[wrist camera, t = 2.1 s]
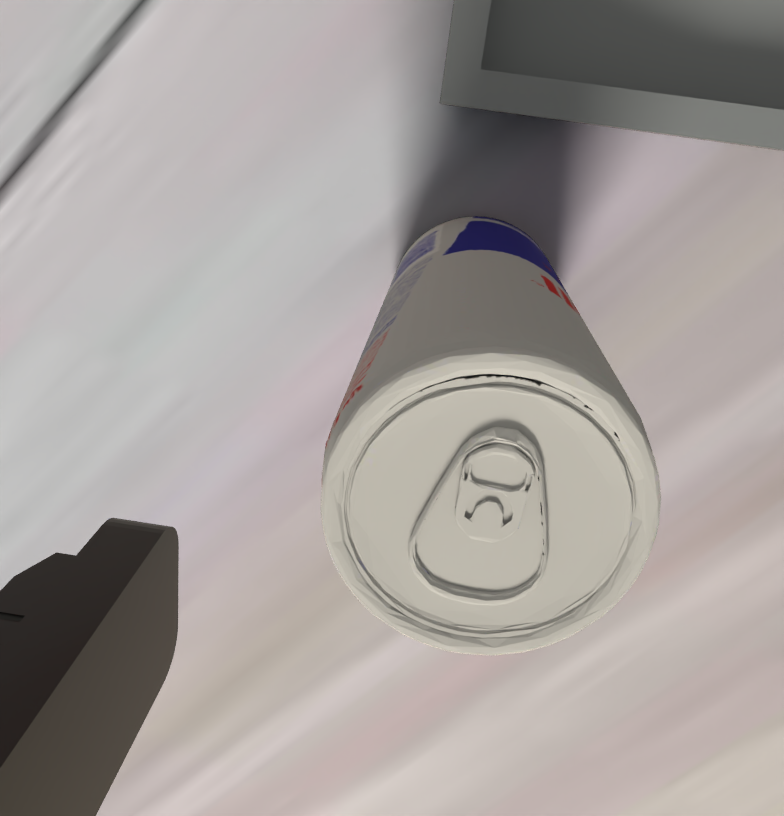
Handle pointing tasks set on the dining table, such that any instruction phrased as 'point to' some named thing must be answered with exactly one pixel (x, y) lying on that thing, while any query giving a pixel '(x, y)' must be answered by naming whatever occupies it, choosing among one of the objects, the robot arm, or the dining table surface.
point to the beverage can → (486, 454)
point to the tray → (625, 64)
